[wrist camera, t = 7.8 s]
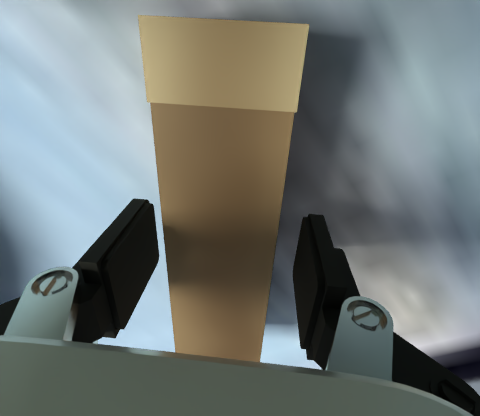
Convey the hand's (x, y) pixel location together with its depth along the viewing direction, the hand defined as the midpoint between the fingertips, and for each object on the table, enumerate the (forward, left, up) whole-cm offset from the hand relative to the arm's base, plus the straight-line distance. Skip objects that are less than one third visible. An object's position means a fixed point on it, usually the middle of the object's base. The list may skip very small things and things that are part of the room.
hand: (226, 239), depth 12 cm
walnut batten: (0, 0, -2) cm, 2 cm away
